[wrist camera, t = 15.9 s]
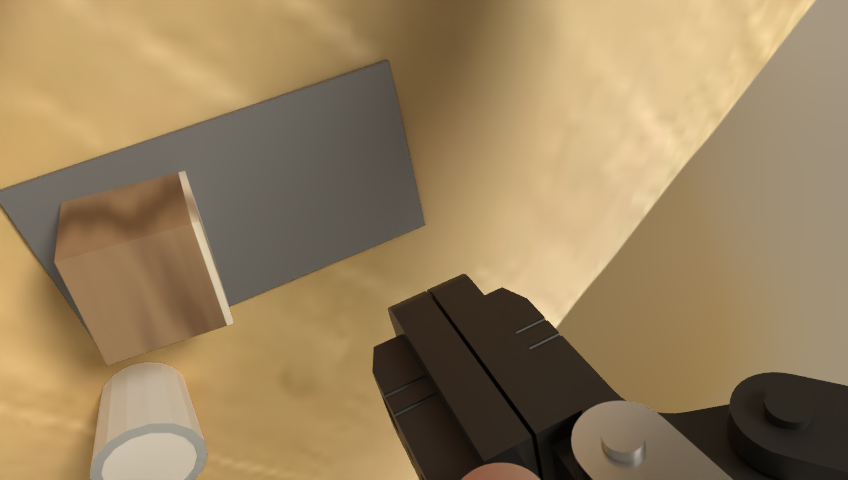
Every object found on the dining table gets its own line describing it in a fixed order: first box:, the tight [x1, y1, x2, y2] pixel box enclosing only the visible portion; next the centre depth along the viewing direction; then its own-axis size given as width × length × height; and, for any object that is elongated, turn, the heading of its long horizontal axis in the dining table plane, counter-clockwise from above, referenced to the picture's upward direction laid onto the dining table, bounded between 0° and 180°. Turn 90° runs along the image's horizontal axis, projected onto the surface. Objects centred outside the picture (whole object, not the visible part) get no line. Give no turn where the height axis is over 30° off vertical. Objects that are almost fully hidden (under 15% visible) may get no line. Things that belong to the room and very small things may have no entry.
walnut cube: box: [54, 171, 234, 365], centre depth 36 cm, size 7×7×7 cm
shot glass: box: [89, 362, 208, 480], centre depth 42 cm, size 7×7×7 cm
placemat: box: [0, 60, 425, 340], centre depth 41 cm, size 24×13×1 cm, turn 101°
